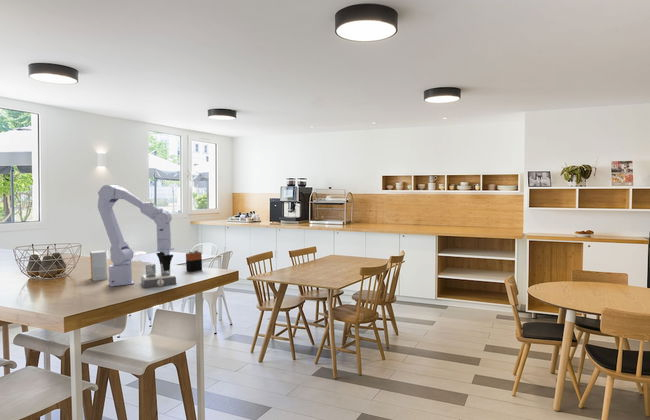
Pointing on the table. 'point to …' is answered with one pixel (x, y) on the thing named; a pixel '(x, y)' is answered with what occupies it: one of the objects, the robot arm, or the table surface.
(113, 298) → the table surface
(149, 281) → the kitchen scale
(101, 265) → the small box
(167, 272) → the steel spacer
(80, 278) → the table surface
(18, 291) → the table surface
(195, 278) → the table surface
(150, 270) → the block
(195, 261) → the battery
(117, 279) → the robot arm
